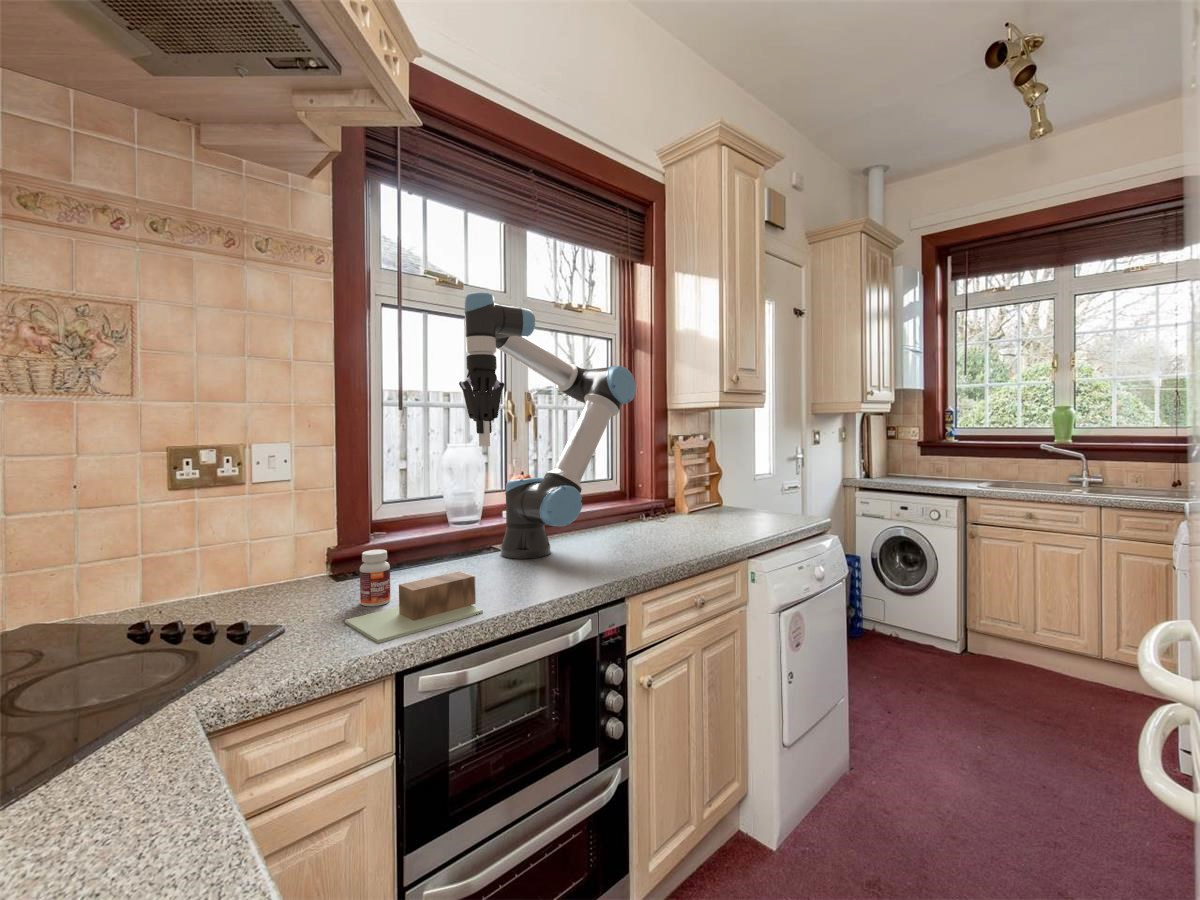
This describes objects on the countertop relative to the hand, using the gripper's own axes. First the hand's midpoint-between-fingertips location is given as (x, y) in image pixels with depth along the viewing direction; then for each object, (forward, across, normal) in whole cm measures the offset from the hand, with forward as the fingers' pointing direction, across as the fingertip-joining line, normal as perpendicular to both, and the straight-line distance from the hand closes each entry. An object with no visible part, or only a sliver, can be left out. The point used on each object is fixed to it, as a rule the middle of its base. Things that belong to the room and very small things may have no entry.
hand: (484, 446), depth 141 cm
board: (+33, +30, +15) cm, 47 cm away
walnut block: (+30, +18, +16) cm, 38 cm away
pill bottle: (+33, +31, 0) cm, 45 cm away
